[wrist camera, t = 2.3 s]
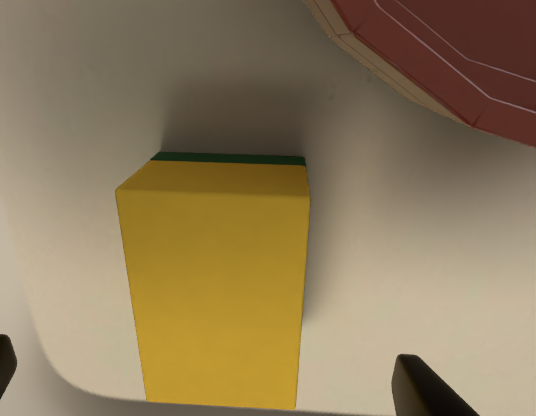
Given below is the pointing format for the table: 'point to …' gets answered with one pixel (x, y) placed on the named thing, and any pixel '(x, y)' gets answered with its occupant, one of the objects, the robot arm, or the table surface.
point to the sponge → (217, 275)
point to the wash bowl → (447, 56)
